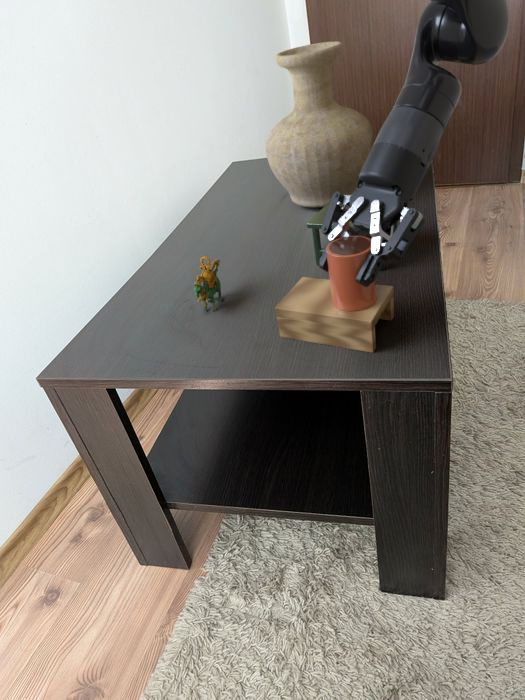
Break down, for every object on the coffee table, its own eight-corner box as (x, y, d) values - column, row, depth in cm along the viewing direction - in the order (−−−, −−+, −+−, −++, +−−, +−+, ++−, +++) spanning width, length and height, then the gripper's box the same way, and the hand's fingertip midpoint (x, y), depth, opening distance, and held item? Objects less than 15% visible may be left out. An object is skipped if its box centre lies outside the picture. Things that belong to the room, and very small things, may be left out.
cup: (382, 290, 70) (380, 236, 65) (367, 314, 66) (363, 258, 61) (341, 286, 73) (336, 234, 68) (325, 308, 69) (318, 254, 64)
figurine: (194, 321, 82) (181, 276, 77) (217, 283, 91) (206, 241, 86) (212, 321, 81) (199, 275, 76) (233, 283, 90) (223, 240, 86)
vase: (397, 196, 109) (393, 34, 92) (307, 230, 103) (285, 63, 86) (338, 175, 126) (325, 36, 109) (258, 204, 120) (232, 60, 103)
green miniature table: (403, 243, 91) (403, 199, 86) (383, 272, 84) (382, 227, 79) (336, 239, 97) (332, 198, 93) (312, 266, 90) (306, 223, 85)
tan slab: (394, 316, 73) (393, 286, 70) (373, 352, 67) (371, 321, 64) (306, 304, 80) (302, 276, 77) (280, 337, 74) (274, 308, 71)
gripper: (343, 135, 67) (288, 253, 69) (436, 145, 57) (369, 283, 58) (372, 163, 72) (321, 272, 74) (463, 177, 62) (400, 302, 64)
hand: (342, 276), depth 66 cm, fingers closed on cup, 6 cm apart
